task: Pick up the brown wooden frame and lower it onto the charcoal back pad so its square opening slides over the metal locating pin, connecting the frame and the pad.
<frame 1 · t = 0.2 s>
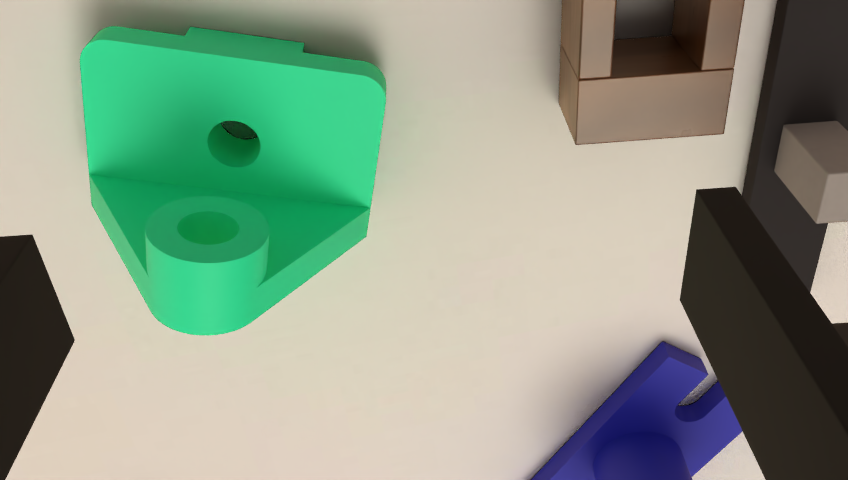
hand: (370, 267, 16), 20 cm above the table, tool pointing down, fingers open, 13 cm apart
mount: (631, 443, 49), on the table
camera mount: (244, 115, 36), on the table
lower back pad: (795, 136, 37), on the table
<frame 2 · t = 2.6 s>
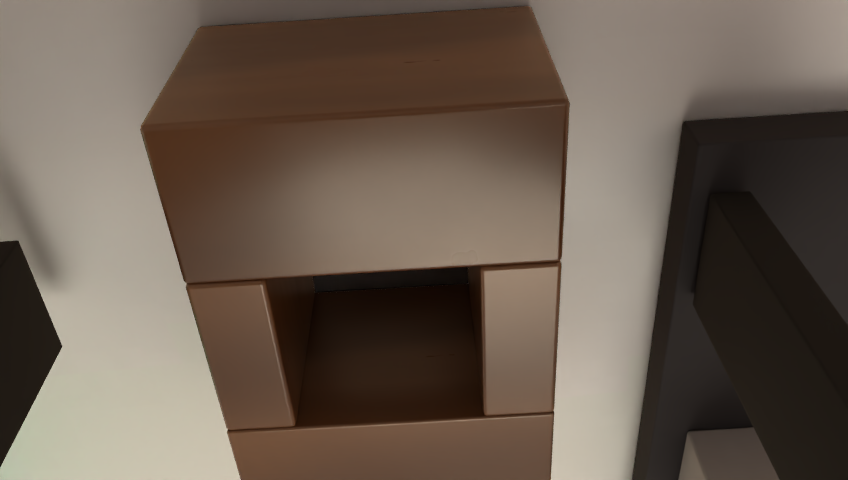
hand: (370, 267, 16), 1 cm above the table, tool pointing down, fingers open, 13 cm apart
brown wooden frame: (385, 223, 17), on the table
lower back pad: (715, 429, 21), on the table
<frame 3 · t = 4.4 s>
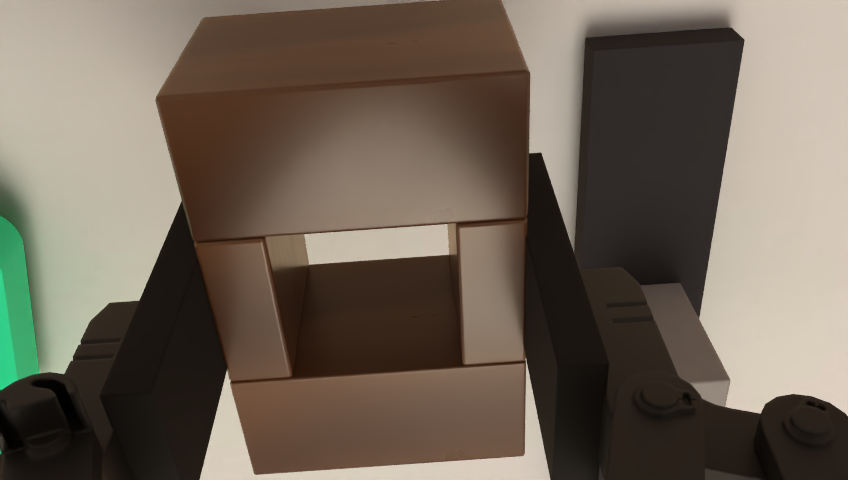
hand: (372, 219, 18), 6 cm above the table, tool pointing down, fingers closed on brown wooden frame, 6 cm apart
brown wooden frame: (372, 198, 18), point 5 cm above the table, touching gripper
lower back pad: (631, 295, 27), on the table
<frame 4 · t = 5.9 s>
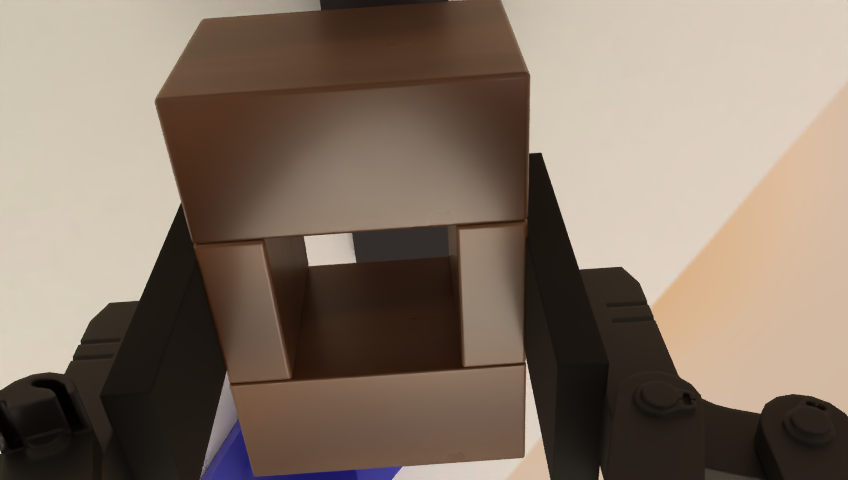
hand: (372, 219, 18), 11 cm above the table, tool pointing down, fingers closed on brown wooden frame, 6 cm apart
brown wooden frame: (372, 200, 18), point 10 cm above the table, touching gripper
mount: (303, 455, 39), on the table
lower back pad: (389, 38, 27), on the table
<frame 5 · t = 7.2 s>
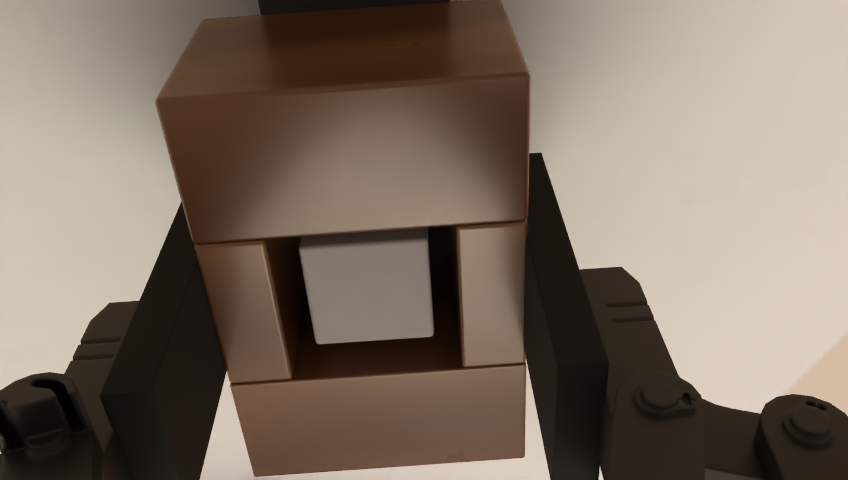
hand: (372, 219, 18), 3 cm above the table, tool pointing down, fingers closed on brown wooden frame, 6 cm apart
brown wooden frame: (372, 200, 18), point 2 cm above the table, touching gripper
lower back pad: (374, 158, 20), on the table
when the fingers open (2 cm above the table, at t = 7.8 s): brown wooden frame stays where it is, resting on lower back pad.
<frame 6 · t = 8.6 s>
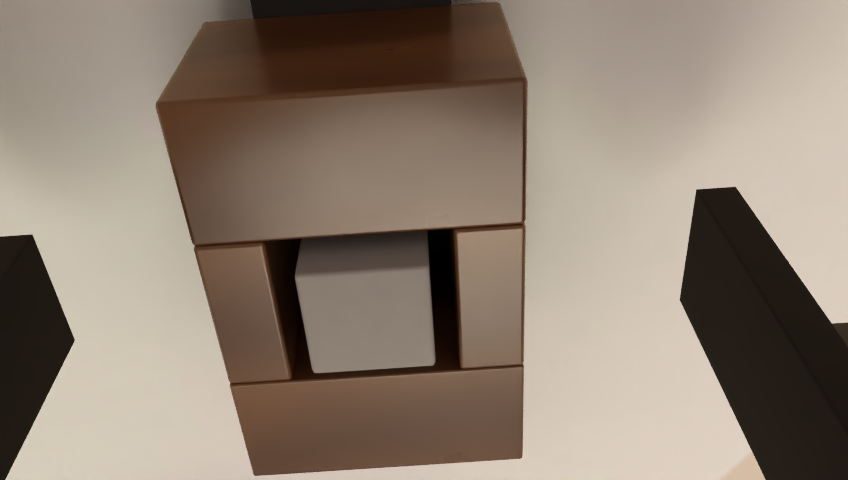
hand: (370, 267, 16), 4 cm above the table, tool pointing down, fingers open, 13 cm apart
brown wooden frame: (372, 202, 19), point 1 cm above the table, touching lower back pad
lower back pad: (373, 177, 19), on the table
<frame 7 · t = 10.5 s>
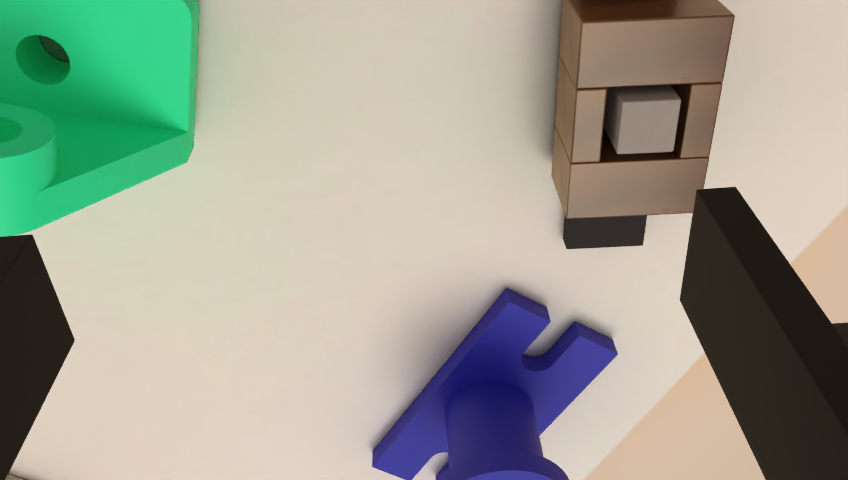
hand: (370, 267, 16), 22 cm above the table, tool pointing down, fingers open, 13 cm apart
brown wooden frame: (621, 87, 37), point 1 cm above the table, touching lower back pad
mount: (486, 395, 49), on the table
camera mount: (65, 37, 36), on the table
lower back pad: (617, 76, 38), on the table
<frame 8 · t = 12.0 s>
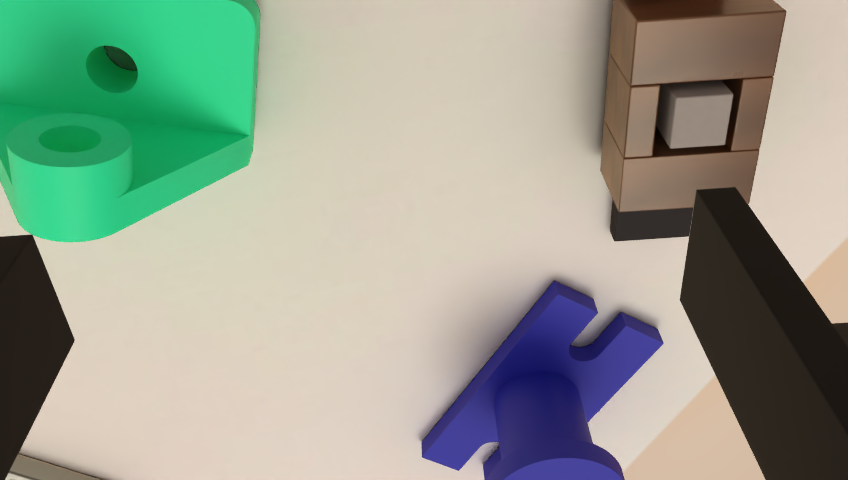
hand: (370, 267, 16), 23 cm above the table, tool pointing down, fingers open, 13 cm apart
brown wooden frame: (670, 82, 38), point 1 cm above the table, touching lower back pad
mount: (533, 386, 50), on the table
camera mount: (129, 46, 37), on the table
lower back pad: (664, 72, 38), on the table
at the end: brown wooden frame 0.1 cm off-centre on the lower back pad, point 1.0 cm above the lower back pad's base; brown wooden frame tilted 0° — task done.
